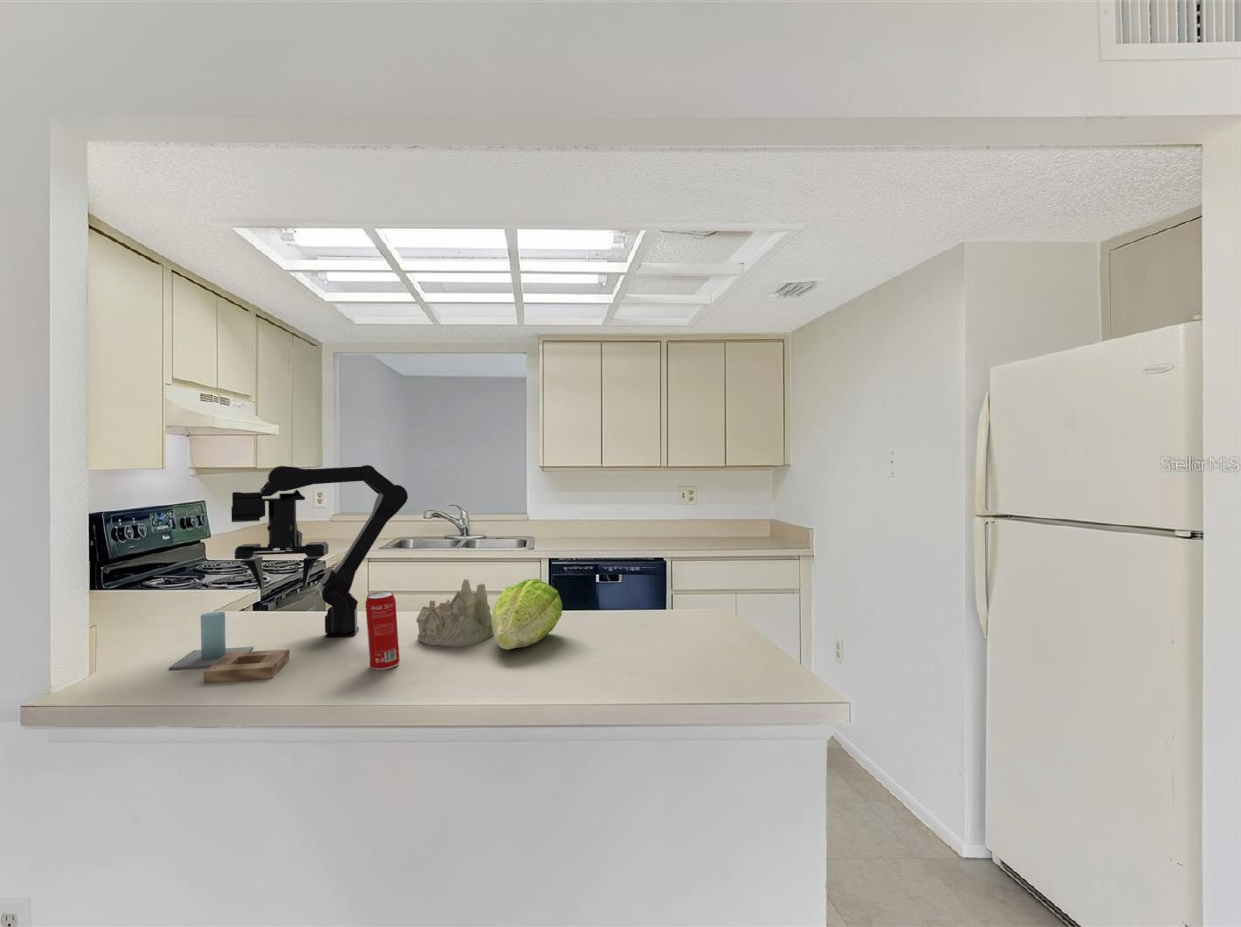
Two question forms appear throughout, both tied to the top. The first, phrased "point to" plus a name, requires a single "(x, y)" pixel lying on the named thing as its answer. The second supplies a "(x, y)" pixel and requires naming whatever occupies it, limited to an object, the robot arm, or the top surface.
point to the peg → (213, 635)
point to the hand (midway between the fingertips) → (283, 587)
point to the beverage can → (382, 630)
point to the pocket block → (247, 666)
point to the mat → (197, 662)
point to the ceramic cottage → (457, 619)
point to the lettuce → (525, 613)
